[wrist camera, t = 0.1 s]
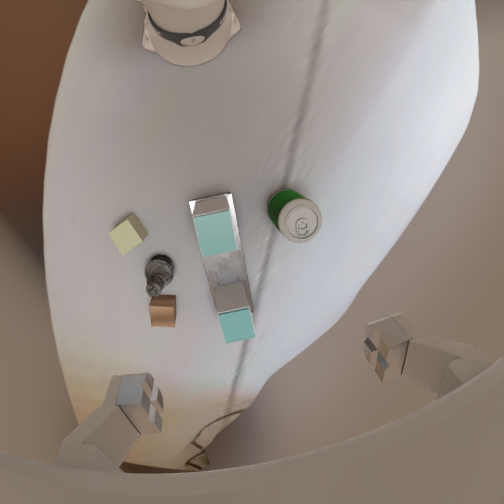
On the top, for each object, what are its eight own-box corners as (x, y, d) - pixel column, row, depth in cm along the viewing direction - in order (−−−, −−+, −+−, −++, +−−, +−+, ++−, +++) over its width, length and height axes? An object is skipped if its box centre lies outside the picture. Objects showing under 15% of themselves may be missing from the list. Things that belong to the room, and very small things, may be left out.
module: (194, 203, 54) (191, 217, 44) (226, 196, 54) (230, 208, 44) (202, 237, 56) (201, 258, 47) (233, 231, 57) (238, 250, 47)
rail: (189, 200, 55) (188, 202, 53) (230, 192, 55) (231, 193, 53) (217, 314, 64) (218, 319, 62) (252, 306, 65) (254, 311, 63)
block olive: (115, 226, 54) (107, 233, 49) (133, 212, 54) (127, 219, 49) (129, 246, 56) (122, 255, 51) (147, 233, 56) (142, 241, 51)
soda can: (267, 227, 59) (281, 247, 48) (264, 190, 56) (278, 202, 45) (303, 222, 60) (324, 242, 48) (301, 186, 57) (324, 198, 46)
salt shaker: (175, 254, 58) (169, 281, 47) (174, 280, 60) (168, 310, 49) (147, 251, 57) (135, 277, 46) (147, 277, 59) (136, 307, 48)
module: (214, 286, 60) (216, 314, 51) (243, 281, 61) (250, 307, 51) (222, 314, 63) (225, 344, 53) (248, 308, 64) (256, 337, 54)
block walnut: (153, 294, 61) (149, 306, 56) (175, 295, 61) (173, 307, 57) (154, 313, 62) (151, 326, 58) (176, 314, 63) (174, 327, 59)
